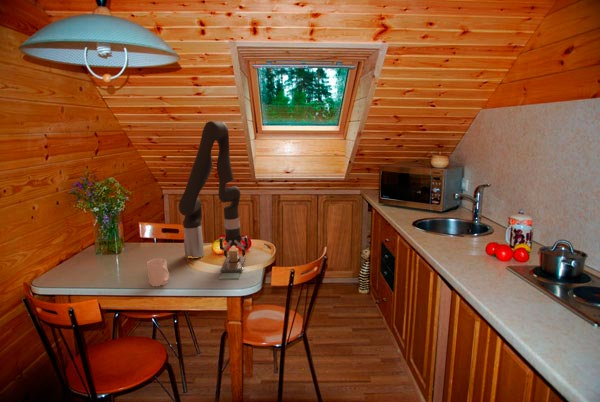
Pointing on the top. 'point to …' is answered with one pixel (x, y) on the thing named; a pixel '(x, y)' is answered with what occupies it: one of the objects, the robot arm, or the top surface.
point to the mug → (157, 271)
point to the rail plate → (233, 265)
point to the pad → (229, 276)
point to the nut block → (234, 255)
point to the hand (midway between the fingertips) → (235, 256)
